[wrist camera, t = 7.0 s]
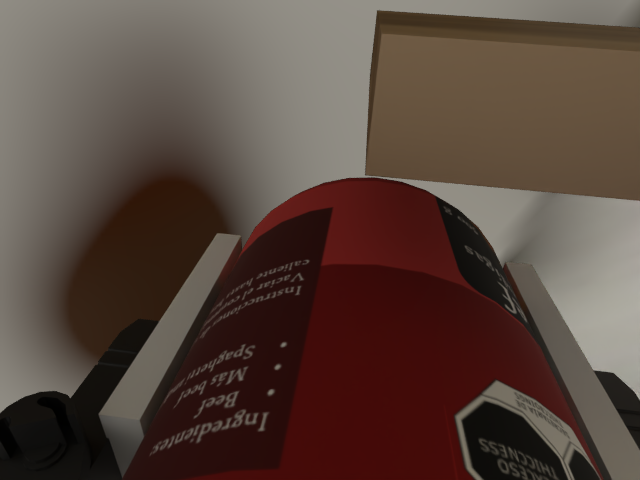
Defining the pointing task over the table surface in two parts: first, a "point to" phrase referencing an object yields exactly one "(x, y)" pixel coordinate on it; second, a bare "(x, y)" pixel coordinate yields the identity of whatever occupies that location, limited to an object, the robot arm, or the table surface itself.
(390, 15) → the shelf
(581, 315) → the table surface
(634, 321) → the table surface
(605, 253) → the table surface
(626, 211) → the table surface
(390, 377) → the canned food
